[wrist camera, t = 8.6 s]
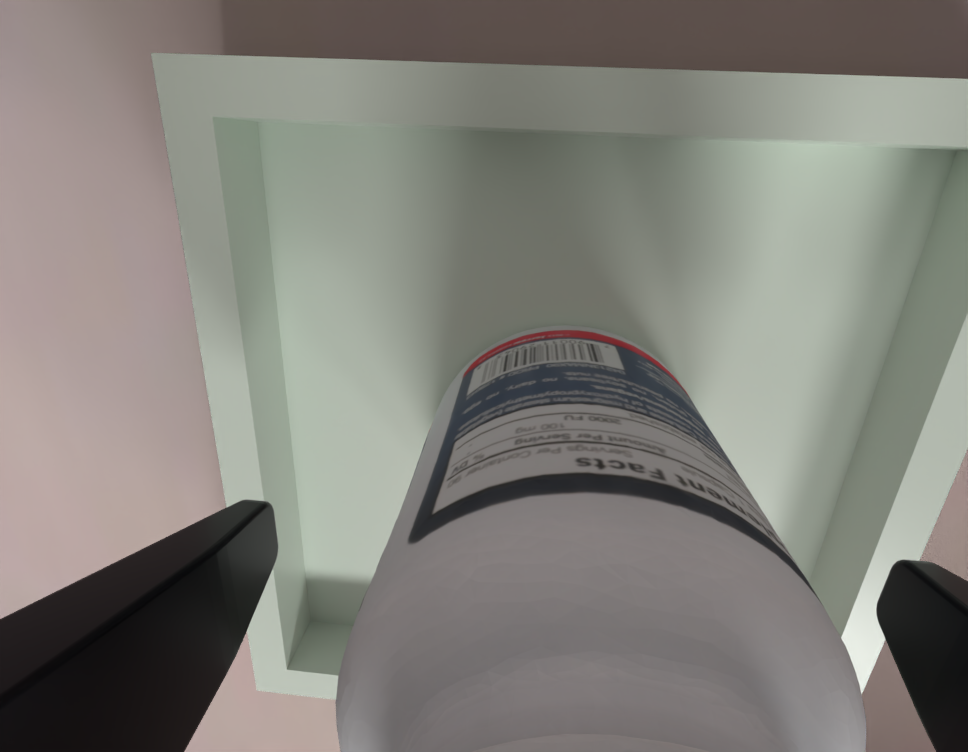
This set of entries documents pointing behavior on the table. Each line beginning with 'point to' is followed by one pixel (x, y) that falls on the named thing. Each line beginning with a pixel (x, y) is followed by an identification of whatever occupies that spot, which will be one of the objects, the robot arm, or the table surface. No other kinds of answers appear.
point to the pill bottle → (587, 578)
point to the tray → (571, 292)
